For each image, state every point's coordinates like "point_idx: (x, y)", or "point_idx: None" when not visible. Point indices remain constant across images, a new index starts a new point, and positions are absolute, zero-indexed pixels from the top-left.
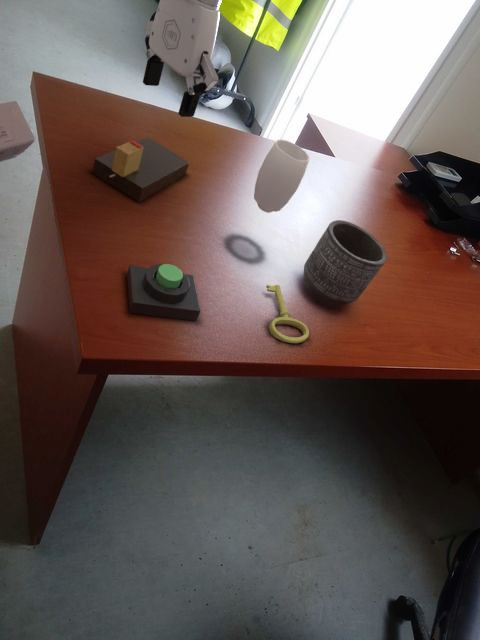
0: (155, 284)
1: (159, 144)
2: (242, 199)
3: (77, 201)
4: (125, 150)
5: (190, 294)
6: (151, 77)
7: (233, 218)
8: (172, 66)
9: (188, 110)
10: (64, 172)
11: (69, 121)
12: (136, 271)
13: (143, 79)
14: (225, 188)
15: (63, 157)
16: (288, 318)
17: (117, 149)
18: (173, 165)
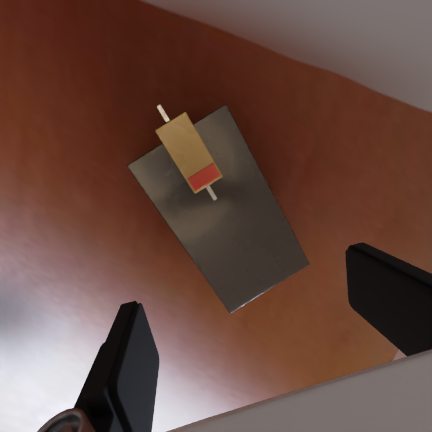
0: None
1: (286, 275)
2: (159, 376)
3: (127, 34)
4: (172, 131)
5: None
6: (368, 280)
7: (99, 334)
8: (222, 428)
9: (100, 348)
10: (220, 52)
11: (378, 140)
12: None
13: (369, 246)
14: (190, 357)
15: (267, 73)
16: None
17: (181, 114)
18: (216, 274)
